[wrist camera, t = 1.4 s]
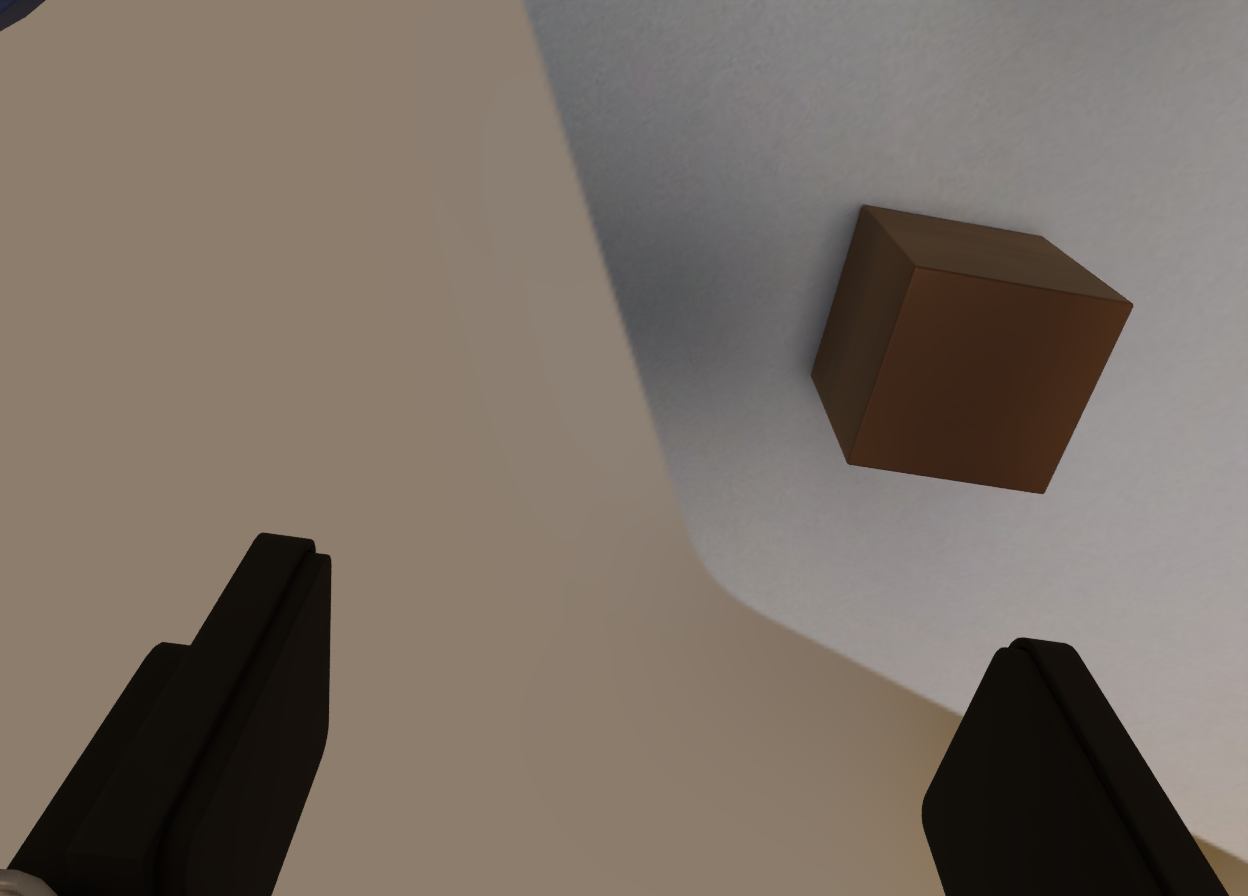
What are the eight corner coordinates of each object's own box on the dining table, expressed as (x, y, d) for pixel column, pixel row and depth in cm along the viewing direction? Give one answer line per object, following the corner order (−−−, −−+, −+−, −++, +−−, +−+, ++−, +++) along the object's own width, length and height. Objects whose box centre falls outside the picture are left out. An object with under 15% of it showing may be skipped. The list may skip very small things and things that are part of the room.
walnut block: (809, 376, 26) (846, 465, 22) (861, 203, 24) (914, 265, 19) (976, 402, 27) (1044, 495, 22) (1043, 236, 24) (1136, 304, 20)
